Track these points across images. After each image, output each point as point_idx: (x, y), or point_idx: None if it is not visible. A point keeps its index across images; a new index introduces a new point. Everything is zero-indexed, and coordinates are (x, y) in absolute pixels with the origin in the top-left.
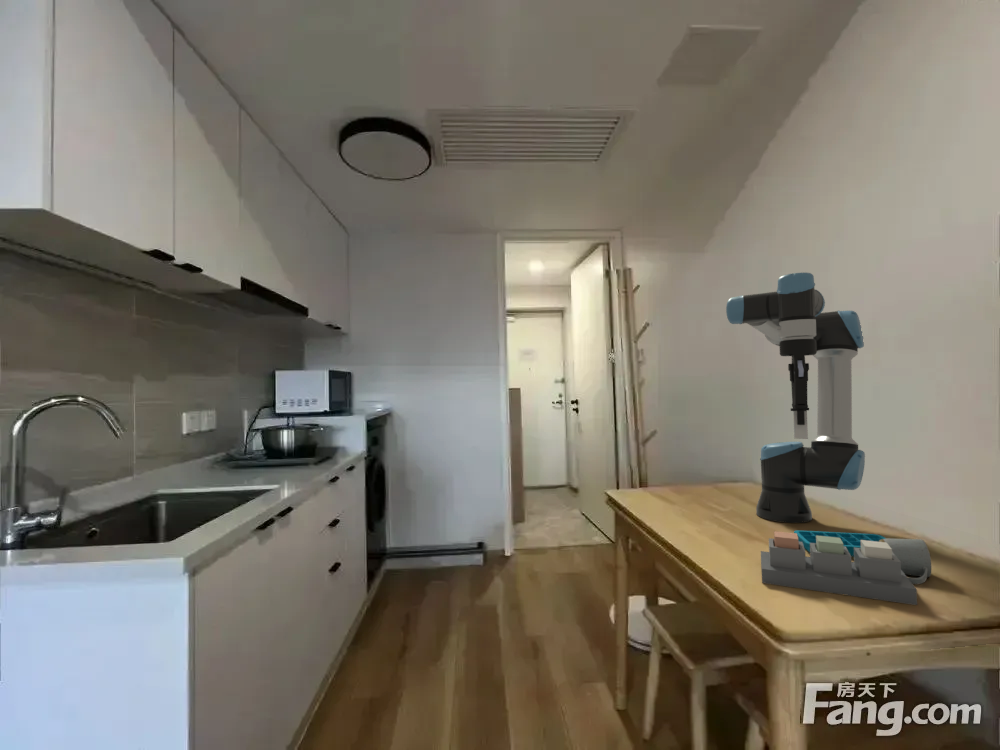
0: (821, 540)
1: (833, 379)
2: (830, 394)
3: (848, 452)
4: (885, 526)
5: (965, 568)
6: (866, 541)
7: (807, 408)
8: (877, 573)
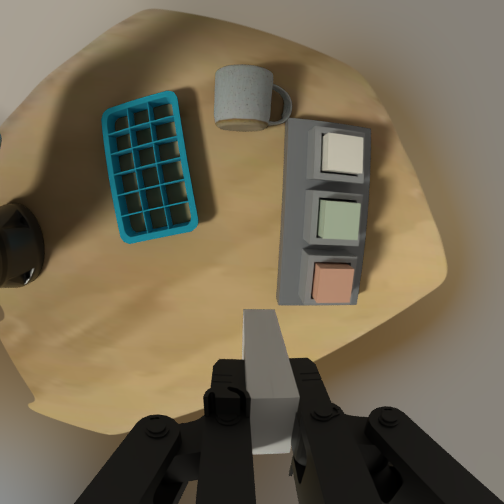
0: (352, 234)
1: None
2: None
3: None
4: (23, 105)
5: (191, 34)
6: (334, 162)
7: (247, 404)
8: None
